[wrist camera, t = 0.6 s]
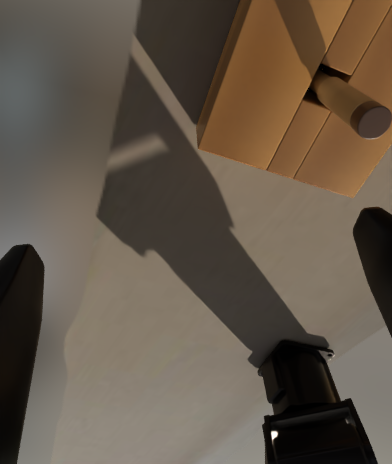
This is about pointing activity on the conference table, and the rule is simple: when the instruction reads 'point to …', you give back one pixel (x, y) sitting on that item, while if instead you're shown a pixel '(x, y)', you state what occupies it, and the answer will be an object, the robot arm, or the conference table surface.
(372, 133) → the tan brown rod
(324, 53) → the stand
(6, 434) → the robot arm
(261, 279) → the conference table surface
